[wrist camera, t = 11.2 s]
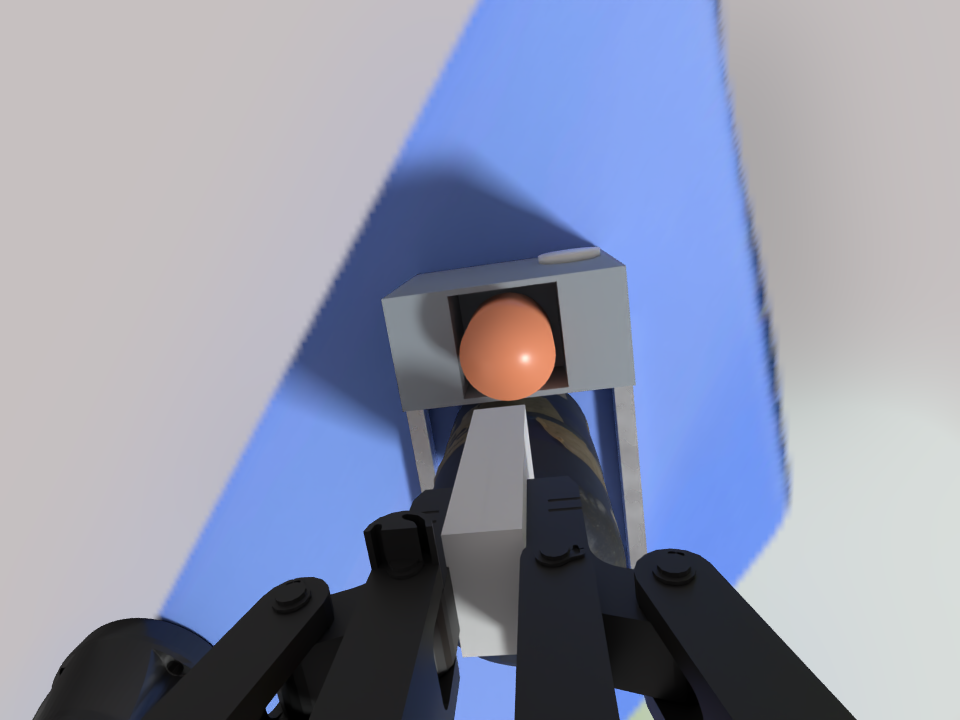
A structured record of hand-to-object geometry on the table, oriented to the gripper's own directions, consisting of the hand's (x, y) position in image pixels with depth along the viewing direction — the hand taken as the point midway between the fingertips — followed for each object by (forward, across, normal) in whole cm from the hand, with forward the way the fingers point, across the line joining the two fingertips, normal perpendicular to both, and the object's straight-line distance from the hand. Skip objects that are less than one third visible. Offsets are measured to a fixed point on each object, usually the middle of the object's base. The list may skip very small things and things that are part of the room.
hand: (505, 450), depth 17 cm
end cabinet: (+22, 0, 0) cm, 22 cm away
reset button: (+14, 0, 0) cm, 14 cm away
